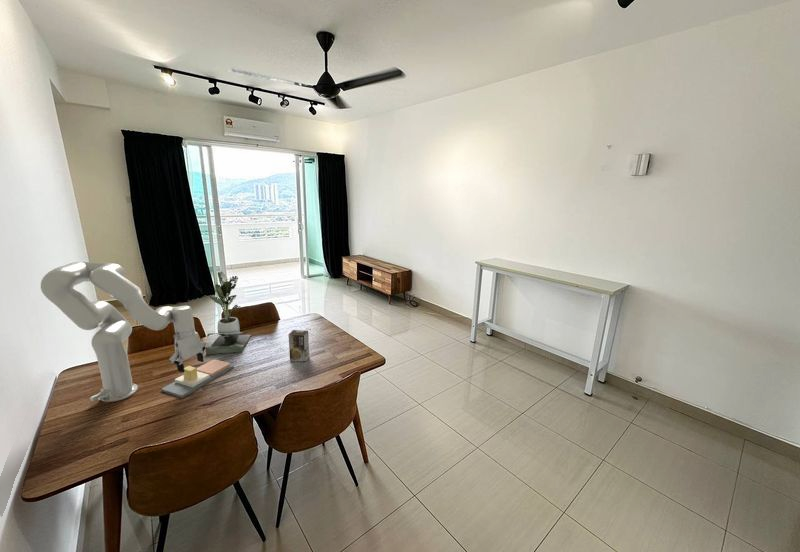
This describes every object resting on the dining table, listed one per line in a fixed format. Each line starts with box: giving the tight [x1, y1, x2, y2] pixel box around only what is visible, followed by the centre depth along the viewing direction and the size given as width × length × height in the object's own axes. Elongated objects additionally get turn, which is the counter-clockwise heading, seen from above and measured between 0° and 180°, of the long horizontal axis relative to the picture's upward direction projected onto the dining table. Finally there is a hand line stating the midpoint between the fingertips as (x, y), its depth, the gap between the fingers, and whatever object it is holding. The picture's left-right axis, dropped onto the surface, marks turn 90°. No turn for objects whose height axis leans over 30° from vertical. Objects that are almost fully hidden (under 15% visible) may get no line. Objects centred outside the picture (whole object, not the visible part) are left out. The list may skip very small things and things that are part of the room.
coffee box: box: [287, 329, 310, 362], centre depth 175 cm, size 9×6×16 cm
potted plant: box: [205, 271, 252, 355], centre depth 184 cm, size 22×19×45 cm
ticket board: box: [160, 358, 234, 399], centre depth 154 cm, size 28×13×3 cm, turn 161°
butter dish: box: [174, 365, 210, 388], centre depth 149 cm, size 9×11×7 cm
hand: (191, 366), depth 148 cm, fingers open, 9 cm apart
